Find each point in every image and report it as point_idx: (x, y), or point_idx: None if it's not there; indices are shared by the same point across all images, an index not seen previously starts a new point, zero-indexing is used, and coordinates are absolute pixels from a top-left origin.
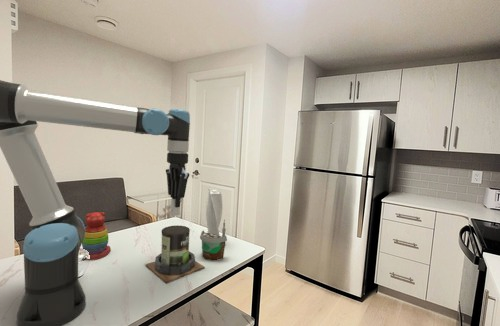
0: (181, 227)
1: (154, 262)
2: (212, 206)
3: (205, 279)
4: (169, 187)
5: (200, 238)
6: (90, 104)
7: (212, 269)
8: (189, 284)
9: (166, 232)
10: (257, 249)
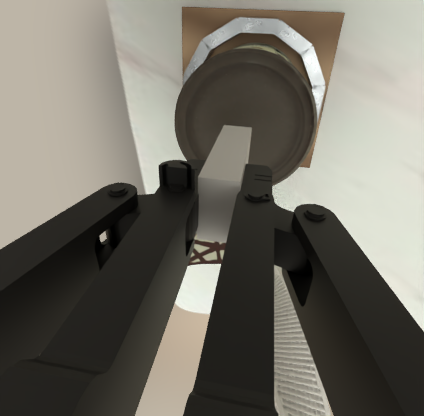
0: None
1: (327, 49)
2: (276, 372)
3: (136, 116)
4: (322, 267)
5: None
6: None
7: None
8: (139, 64)
9: (247, 69)
10: (181, 302)
